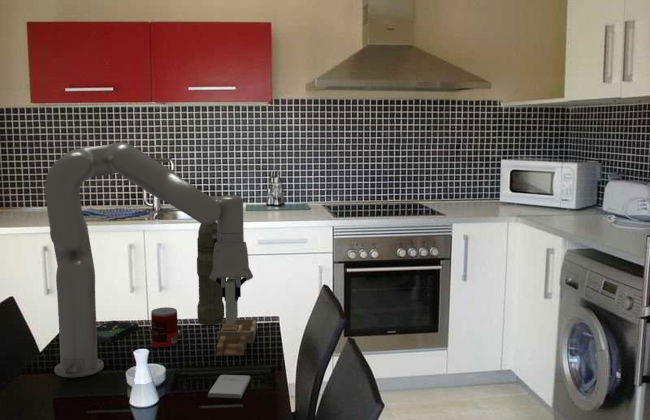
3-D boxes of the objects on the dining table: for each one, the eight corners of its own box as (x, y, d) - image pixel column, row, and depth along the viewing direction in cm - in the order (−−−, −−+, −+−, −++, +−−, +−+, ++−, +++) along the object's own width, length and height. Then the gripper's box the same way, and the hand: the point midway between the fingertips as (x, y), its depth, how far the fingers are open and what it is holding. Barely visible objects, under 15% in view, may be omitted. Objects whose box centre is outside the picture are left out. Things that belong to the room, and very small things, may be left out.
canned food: (176, 340, 202) (175, 306, 201) (179, 348, 195) (178, 313, 193) (151, 342, 200) (150, 308, 198) (152, 351, 192) (151, 315, 191)
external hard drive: (208, 399, 159) (220, 379, 171) (240, 400, 158) (250, 381, 171) (207, 392, 159) (219, 374, 171) (240, 394, 158) (250, 375, 171)
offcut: (235, 335, 198) (235, 328, 198) (221, 335, 198) (221, 329, 197) (235, 330, 203) (235, 324, 203) (222, 330, 203) (222, 324, 202)
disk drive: (112, 328, 216) (83, 341, 202) (111, 320, 216) (82, 332, 202) (138, 331, 213) (111, 344, 199) (138, 323, 213) (111, 335, 199)
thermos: (214, 330, 212) (212, 225, 208) (189, 324, 219) (187, 222, 215) (233, 324, 219) (232, 222, 215) (208, 318, 226) (207, 219, 222)
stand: (243, 358, 187) (243, 346, 186) (215, 358, 186) (215, 346, 186) (246, 346, 196) (246, 335, 196) (220, 347, 196) (220, 335, 196)
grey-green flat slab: (234, 324, 186) (233, 283, 184) (225, 324, 186) (225, 283, 184) (237, 315, 195) (237, 276, 193) (229, 315, 195) (228, 276, 193)
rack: (253, 346, 197) (253, 332, 197) (217, 346, 197) (216, 332, 196) (256, 332, 211) (256, 319, 210) (222, 332, 211) (222, 319, 210)
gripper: (200, 240, 183) (202, 303, 186) (257, 240, 184) (258, 303, 186) (204, 236, 191) (205, 296, 193) (259, 235, 191) (259, 296, 194)
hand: (231, 299), depth 190 cm, fingers closed on grey-green flat slab, 2 cm apart
